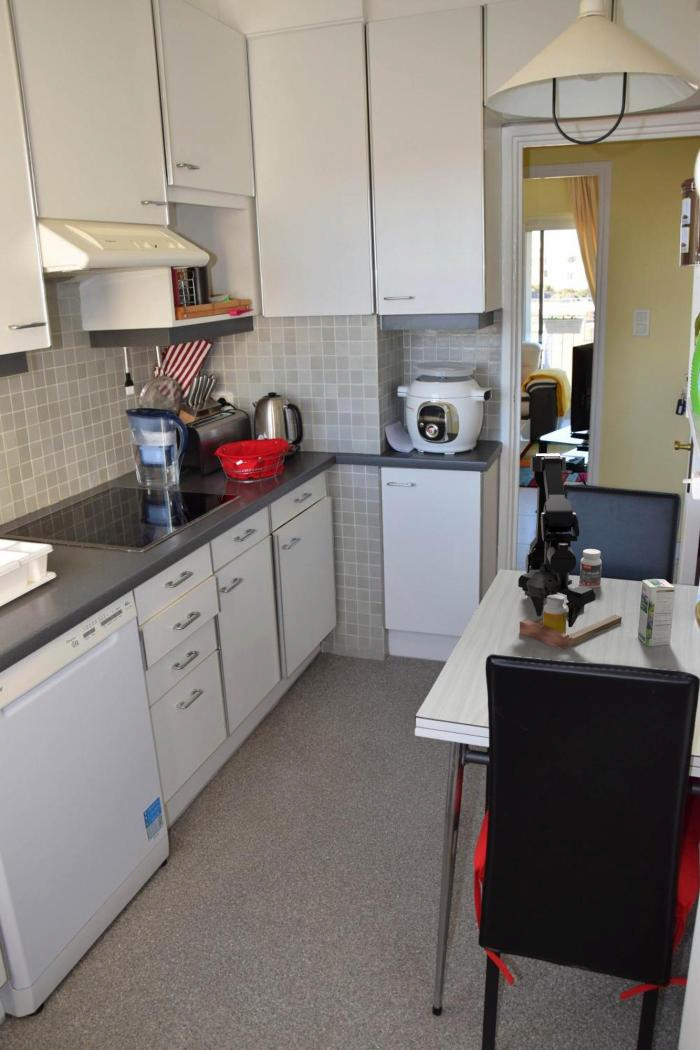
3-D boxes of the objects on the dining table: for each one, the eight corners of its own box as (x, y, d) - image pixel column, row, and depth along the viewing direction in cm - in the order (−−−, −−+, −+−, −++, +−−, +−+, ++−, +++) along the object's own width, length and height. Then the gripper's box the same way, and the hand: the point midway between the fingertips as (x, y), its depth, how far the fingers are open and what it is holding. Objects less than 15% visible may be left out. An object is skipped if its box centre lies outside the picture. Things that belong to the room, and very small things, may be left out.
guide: (519, 632, 205) (519, 621, 205) (577, 608, 219) (578, 597, 218) (563, 649, 196) (563, 637, 195) (621, 622, 209) (621, 611, 209)
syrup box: (636, 637, 201) (640, 579, 197) (660, 635, 201) (665, 578, 197) (646, 646, 195) (650, 587, 191) (671, 645, 196) (676, 586, 192)
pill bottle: (580, 588, 234) (582, 554, 231) (578, 581, 239) (579, 548, 236) (601, 588, 233) (603, 554, 230) (598, 581, 238) (600, 548, 235)
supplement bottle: (566, 640, 201) (567, 601, 198) (542, 639, 202) (544, 600, 199) (565, 631, 206) (566, 593, 203) (542, 630, 207) (543, 592, 204)
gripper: (503, 558, 201) (502, 619, 205) (568, 577, 187) (565, 642, 191) (533, 548, 207) (532, 607, 212) (598, 566, 193) (595, 629, 197)
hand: (554, 621), depth 203 cm, fingers open, 9 cm apart
